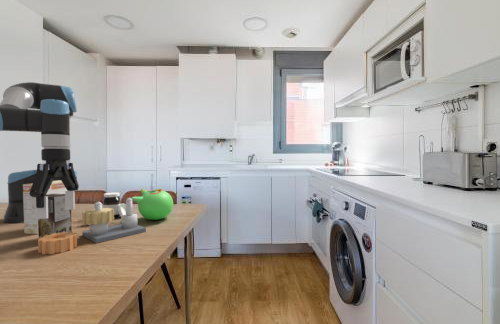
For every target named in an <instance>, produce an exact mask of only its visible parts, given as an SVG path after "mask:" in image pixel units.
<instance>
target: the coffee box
mask: <svg viewBox="0 0 500 324" xmlns="http://www.w3.org/2000/svg"><path fill="white" fill-rule="evenodd" d="M45 197H48V218H47V219H38V233H39V234H38V239H39V238H42V237H43V236H45V235H51V234H53V233H61V232H73V231H72V230H73V229H72V228H73V227H72V226H73V225H72V223H73V222H72V210H66V206H65V194H48V195H46V196H45Z"/></svg>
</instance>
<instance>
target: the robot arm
mask: <svg viewBox="0 0 500 324" xmlns="http://www.w3.org/2000/svg"><path fill="white" fill-rule="evenodd" d="M75 97H76V96H75V93H74V90H73V88H72V87H70V86H64V85H57V84H50V83H49V84H48V83H39V82H33V81H32V82H31V81H29V82H19V83H16V84H14V85H11V86H9V87H7V88H6V89H5V90H4V91H3V94H2V98H3V99H2V100H1V102H0V132H2V131H3V132H4V131H5V132H30V133H31V132H32V133H40V139H41V140H40V141H41V147H42V149H41V151H40V153H41V160H42V161H44V162H45V163H37V165H36V169H29V170H21V171H16V172H15V171H14V172H10V173H9V175H8V177H7V183H6V184H7V193H8V194H7V195H8V196H7V197H8V198H7V199H8V204H7V207H6V210H5V213H4V215H3V222H4V223H11V224H13V223H14V224H15V223H24V204H23V184H31V183H33V184H32V187H31V190H30V193H29V195H30V196H32V197H36V207H37V219H47V218H48V197H45V196H46V194H47V192H48V190H49V188H50V186H51V184H52V182H53V181H57V180H61V181H62V183H63V184H64V186H65V187H66V189H67V190H68V191H65V206H66V210H71V211H72V210H76V202H75V201H76V200H75V199H76V193H75V191H78V190H79V187H80V186H79V182H78V179H77V178H78V171H77V170H75V168H74V163H73V162H71V136H70V135H71V133H70V132H71V131H70V130H71V127H70V123H71V122H70V119H71V118H73V117H74V113H77V111H78V109H77V103H76V98H75ZM35 191H36V192H35Z"/></svg>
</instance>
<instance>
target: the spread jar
mask: <svg viewBox="0 0 500 324" xmlns="http://www.w3.org/2000/svg"><path fill="white" fill-rule="evenodd" d="M102 208H113V209H114V219H116V218H120V217H121V216H122V215H126V203H121V197H120V192H105V193H103V200H102ZM119 216H120V217H119Z"/></svg>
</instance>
